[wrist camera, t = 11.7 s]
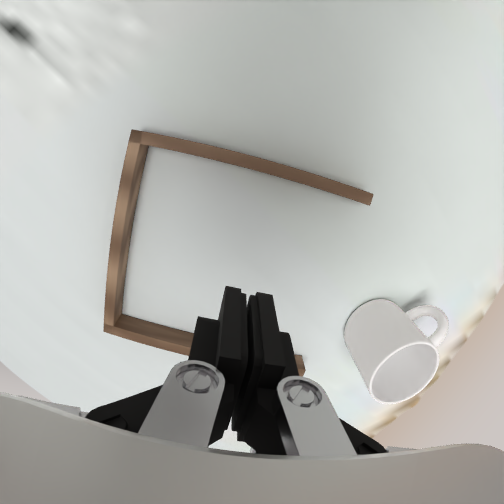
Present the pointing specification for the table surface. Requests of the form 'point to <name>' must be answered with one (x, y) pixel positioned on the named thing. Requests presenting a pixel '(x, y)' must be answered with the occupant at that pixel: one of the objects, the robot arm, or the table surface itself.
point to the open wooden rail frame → (124, 222)
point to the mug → (394, 348)
